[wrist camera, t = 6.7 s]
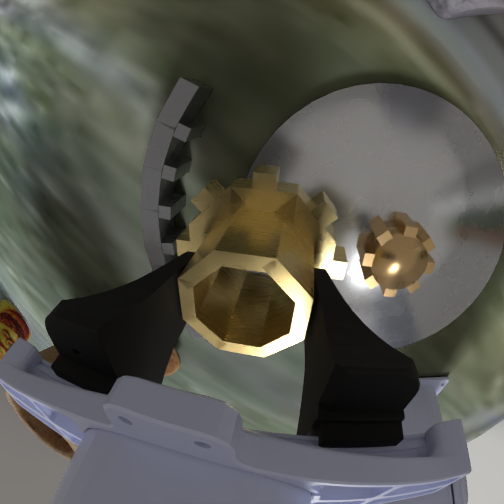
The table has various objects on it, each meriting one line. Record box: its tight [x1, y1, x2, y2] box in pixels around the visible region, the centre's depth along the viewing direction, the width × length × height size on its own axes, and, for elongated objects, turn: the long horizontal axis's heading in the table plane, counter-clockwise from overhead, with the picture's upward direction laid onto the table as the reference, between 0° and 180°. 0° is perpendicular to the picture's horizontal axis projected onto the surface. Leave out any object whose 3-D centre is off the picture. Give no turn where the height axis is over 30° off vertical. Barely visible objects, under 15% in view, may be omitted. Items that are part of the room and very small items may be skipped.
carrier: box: [141, 77, 504, 349], centre depth 16 cm, size 20×26×4 cm
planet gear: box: [176, 165, 347, 357], centre depth 13 cm, size 8×8×5 cm
